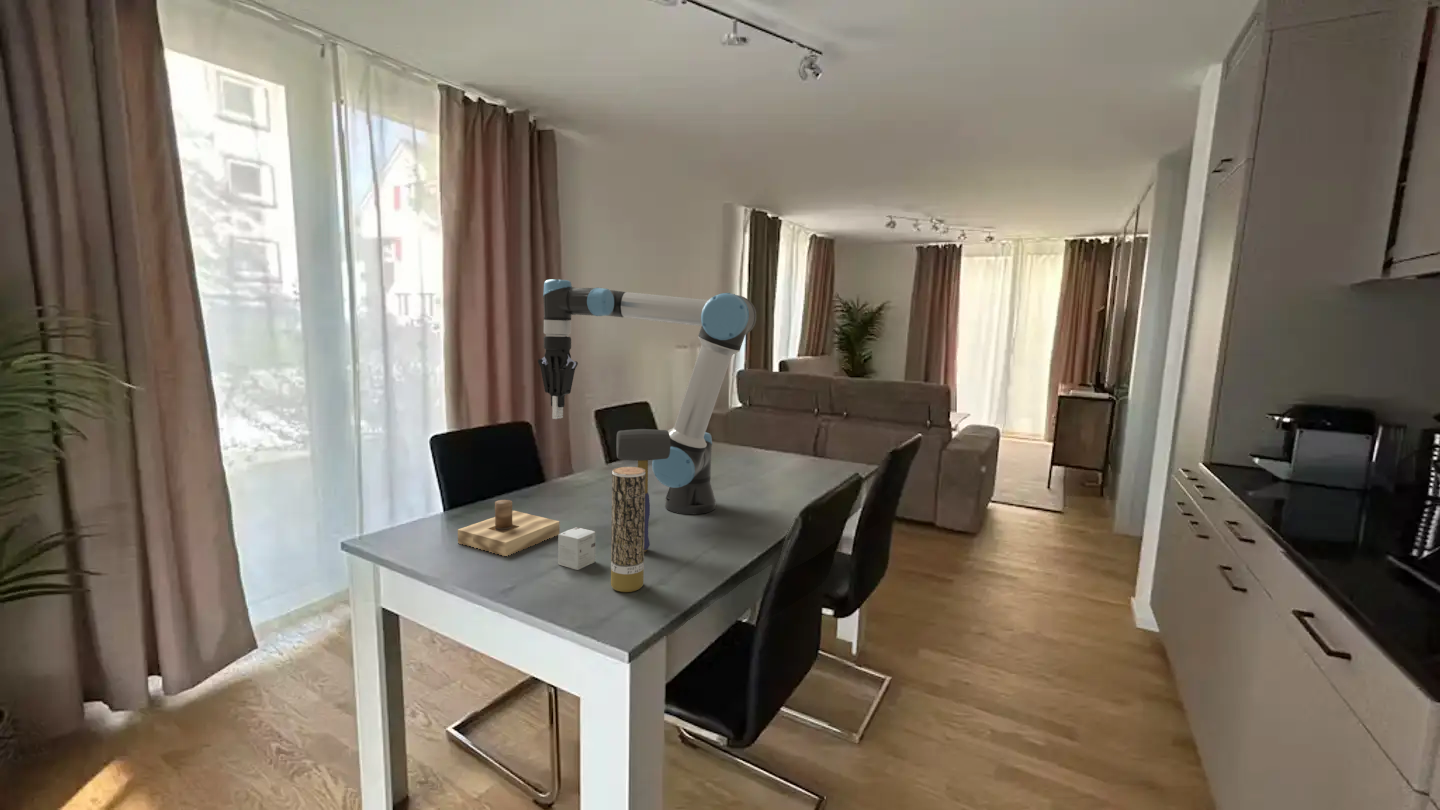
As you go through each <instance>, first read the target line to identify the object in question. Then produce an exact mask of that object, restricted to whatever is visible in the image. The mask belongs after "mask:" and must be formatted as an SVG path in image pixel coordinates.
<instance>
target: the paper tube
mask: <svg viewBox="0 0 1440 810" xmlns="http://www.w3.org/2000/svg"><path fill="white" fill-rule="evenodd" d="M611 472H612V473H611V527H610V528H611V533H610V534H611V535H610V536H611V537H610V539H611V540H610V541H611V544H610V545H611V546H610V585H611V586H610V587H612V589H613V590H615V592H619V593H620V592H621V593H633V592H636V591H638V590H640V589H641V588H642V587H643V585H644V572H645V571H644V568H645V552H644V530H645V477H646V473H645V469H643V468H638V466H621V467H615V468H613V469H612V471H611Z"/></svg>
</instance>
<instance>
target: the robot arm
mask: <svg viewBox="0 0 1440 810" xmlns="http://www.w3.org/2000/svg"><path fill="white" fill-rule="evenodd" d="M542 298H543V334H544V336H543V349H545V352H544V356H543V357H542V358H539V359H538V360H537V363H538V365H539V368H540V372H541V377H542V381H543V382H542V383H543V387H544V388H543V389H544V392H545V393H546V394H547V393H548V394H549V395H550V407H551V408H552V414H551V416H552V417H551V418H552V420H558V419H563V418H564V408H565V396H566V395H570V394H571V393H572V392H571V391H572V387H573V382H574V376H575V371H576V369H577V366H578V365H579V363H578V361H576V360H573V359H572V356H571V352H570V351H571V349H572V337H571V336H570V335H572V315H573V316H576V315H577V316H595V317H604V316H605V317H606V316H607V317H614V318H615V317H616V318H626V319H636V320H641V321H642V320H645V321H651V322H660V323H661V322H662V323H672V324H678V325H686V326H687V325H688V326H697V327H700V329H699V332H698V335H697V338H698V340H699V342H700V349H699V351H698V354H697V357H696V360H695V363H694V366H693V368H692V373H691V375H690V377H689V381H688V384H687V387H686V391H685V393H684V396H683V399H682V402H681V404H680V407H679V411H678V414H677V417H676V420H675V423H674V426H673V427H672V428H670V429H667V431H668V432H669V435H670V455H669V457H668V458H667V459H658V460H651V461H652V463H651V466H652V467H651V470H652V472H653V474H654V477H655V478H656V480H657V481H659V483H660V484H662V485H663V486H665V487H668V490H667V493H666V496H665V500H664V501H665V502H664V507H665V509H666V510H668V511H670V512H672V513H677V514H684V515H702V514H707V513H710V512H713V511H714V510H715V509H716V505H717V504H716V503H717V501H716V497H715V494H714V493H715V492H714V489H713V486H712V483H711V476H712V474H711V473H712V472H711V471H712V450H713V449H712V446H713V439H712V435H711V433H709V432H707V429H708V426H709V423H710V420H711V417H712V414H713V411H714V410H715V409H714V408H715V405H716V402H717V399H718V397H719V393H720V391H721V387H722V385H723V383H724V381H725V380H724V379H725V377H726V373H727V370H728V368H729V365H730V362H731V359H732V356H733V355H735V354H737V353H739V352H740V351H741V349H742V345H743V343H744V340H745V336H746V335H747V334H749V333H750V332H751V331H752V330H753V328H754V327H755V325H756V321H757V311H756V308H755V306H754V304H753V302H751V301H750V300H749V299H748V298H746V297H745V296H742V295H739V294H738V295H737V294H735V293H730V292H724V293H719V294H716V295H713V296H712V297H710V298H709V299H703V298H702V299H701V298H692V297H682V296H681V297H680V296H670V295H663V294H662V295H661V294H652V293H651V294H649V293H643V292H642V293H640V292H630V291H622V290H621V291H619V290H614V289H613V290H612V289H608V288H602V287H574V286H572V281H570V280H568V279H552V278H551V279H550V278H549V279H546V280H545V281H544V283H543V295H542Z"/></svg>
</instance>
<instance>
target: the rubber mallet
mask: <svg viewBox="0 0 1440 810" xmlns="http://www.w3.org/2000/svg"><path fill="white" fill-rule="evenodd" d="M615 440H616V442H615V443H616V447H615V448H616V449H615V450H616V458H617V459H618V460H621V461H637V467H638V468H643V469H645V473H646V477H645V530H644V553H646V552H648V549H649V548H650V545H651V544H650V538H649V522H650V521H649V520H650V513H651V512H650V511H651V503H650V495H649V489H648V487H649V484H648V483H649V481H648V480H649V461H653V460H658V459H667V458H668V457H669V455H670V435H669V432H668V429H667V430H666V429H655V428H654V429H653V428H652V429H650V428H647V429H646V428H637V429H625V430H618V431H617V432H616V439H615Z"/></svg>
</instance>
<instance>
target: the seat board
mask: <svg viewBox="0 0 1440 810" xmlns="http://www.w3.org/2000/svg"><path fill="white" fill-rule="evenodd" d="M560 526H561V525H560V520H556V519H552V518H547V517H543V516H539V515H533V514H529V513H527V512H522V511H518V510H512V528H513V529H512V530H510V531H507V532H504V533H502V532H498V531H495V516H494V517H491V518H487V519H485V520H482V521H479V522H476V523H472V524H469V525H468V526H464V527H461V528H458V529H457V544H458V543H459V544H460V545H462V544H463V545H462V546H465V545H467V546H466V547H469V546H471V547H470V548H472V547H474V548H473V549H476V548H478V549H477V550H479V549H481V550H480V551H483V550H485V551H484V552H486V551H489V552H488V553H490V552H492V553H491V554H493V553H495V554H494V555H497V554H499V555H498V556H500V555H502V556H501V557H504V556H507V557H509V556H512V555H514V554H517V553H519V552H521V551H523V549H524V550H526V549H528V547H529V548H531V547H532V546H533V547H534V546H536V545H537V544H540V543H542V541H543V542H544V540H545V541H547V539H548V540H550V539H552V538H554V536H555V537H558V534H560V533H561V532H560V529H561V527H560ZM549 538H550V539H549ZM459 544H458V545H459ZM535 544H536V545H535ZM530 546H531V547H530ZM518 551H519V552H518ZM516 552H517V553H516ZM513 553H514V554H513ZM511 554H512V555H511ZM508 555H509V556H508Z"/></svg>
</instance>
